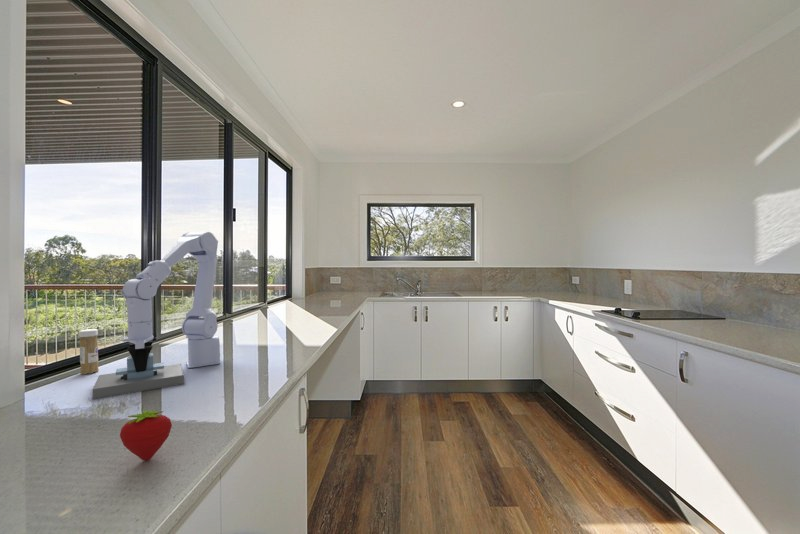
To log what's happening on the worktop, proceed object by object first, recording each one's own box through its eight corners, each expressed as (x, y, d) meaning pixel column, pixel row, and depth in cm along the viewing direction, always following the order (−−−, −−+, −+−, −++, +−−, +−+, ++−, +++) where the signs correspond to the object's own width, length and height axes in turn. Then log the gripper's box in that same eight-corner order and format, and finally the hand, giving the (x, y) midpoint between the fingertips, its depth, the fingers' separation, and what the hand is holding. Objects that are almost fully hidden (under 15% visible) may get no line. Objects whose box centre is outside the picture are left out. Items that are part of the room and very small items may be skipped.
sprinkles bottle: (97, 372, 116) (96, 330, 116) (78, 375, 114) (77, 331, 113) (99, 369, 120) (98, 327, 120) (81, 371, 118) (80, 329, 117)
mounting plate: (181, 371, 117) (180, 363, 117) (184, 383, 105) (183, 374, 105) (99, 383, 106) (99, 375, 106) (92, 399, 94) (92, 389, 94)
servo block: (163, 373, 110) (163, 349, 110) (164, 377, 107) (163, 351, 106) (117, 380, 104) (116, 354, 104) (115, 384, 101) (115, 357, 100)
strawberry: (169, 464, 63) (167, 406, 63) (115, 474, 61) (113, 413, 60) (175, 448, 69) (174, 394, 69) (126, 456, 66) (124, 400, 66)
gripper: (124, 319, 109) (125, 365, 109) (120, 326, 97) (121, 378, 97) (153, 317, 113) (154, 361, 113) (152, 323, 101) (154, 373, 101)
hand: (141, 369), depth 105 cm, fingers closed on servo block, 4 cm apart
